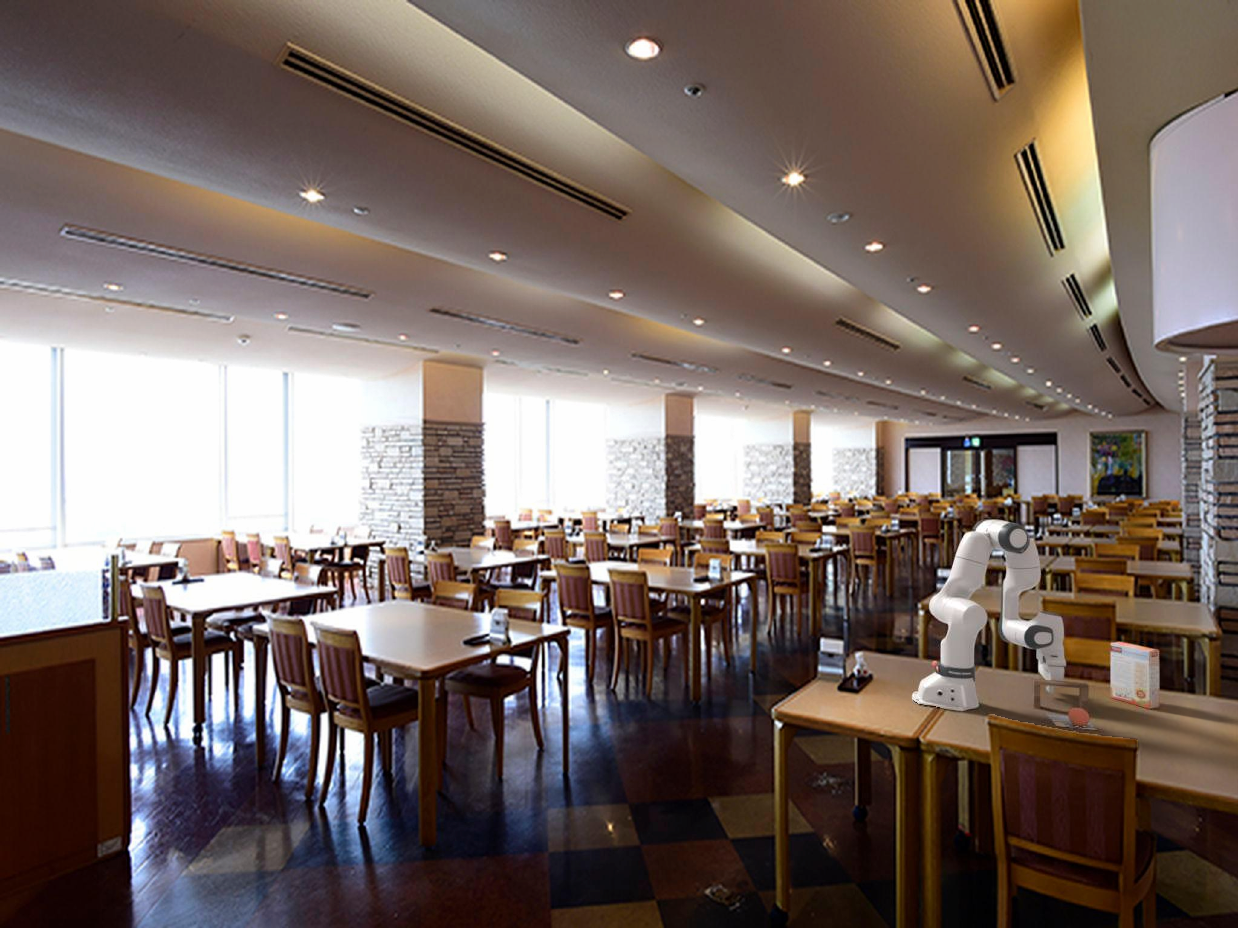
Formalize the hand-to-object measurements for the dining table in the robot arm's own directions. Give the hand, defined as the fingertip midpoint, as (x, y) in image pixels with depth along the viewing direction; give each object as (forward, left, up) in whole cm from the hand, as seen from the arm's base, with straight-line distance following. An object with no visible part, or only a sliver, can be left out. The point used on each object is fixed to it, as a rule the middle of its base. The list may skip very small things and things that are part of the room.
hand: (1050, 691), depth 268 cm
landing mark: (0, -27, -2) cm, 27 cm away
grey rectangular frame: (0, -13, -2) cm, 13 cm away
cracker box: (+28, +3, -2) cm, 28 cm away
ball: (+1, -30, +1) cm, 30 cm away
